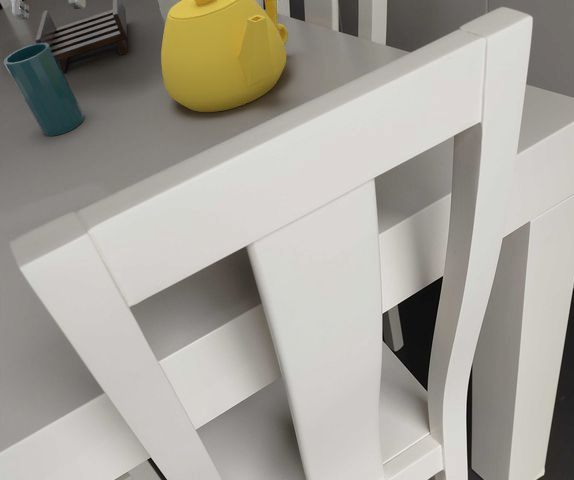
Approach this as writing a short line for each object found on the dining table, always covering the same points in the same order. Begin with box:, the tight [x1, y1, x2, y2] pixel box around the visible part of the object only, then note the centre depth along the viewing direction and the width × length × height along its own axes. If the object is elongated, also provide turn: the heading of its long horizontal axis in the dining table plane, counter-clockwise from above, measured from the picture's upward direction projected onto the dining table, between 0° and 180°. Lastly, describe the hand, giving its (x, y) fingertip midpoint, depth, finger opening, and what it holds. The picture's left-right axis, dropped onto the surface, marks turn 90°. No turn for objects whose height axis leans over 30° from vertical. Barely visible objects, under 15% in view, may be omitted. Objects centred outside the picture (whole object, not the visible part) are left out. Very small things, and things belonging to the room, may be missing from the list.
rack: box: [35, 0, 129, 75], centre depth 103 cm, size 14×17×6 cm
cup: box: [3, 43, 85, 137], centre depth 81 cm, size 6×6×10 cm
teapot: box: [160, 0, 289, 113], centre depth 75 cm, size 20×19×13 cm
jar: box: [157, 0, 182, 24], centre depth 90 cm, size 9×8×12 cm
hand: (48, 12), depth 81 cm, fingers open, 8 cm apart
